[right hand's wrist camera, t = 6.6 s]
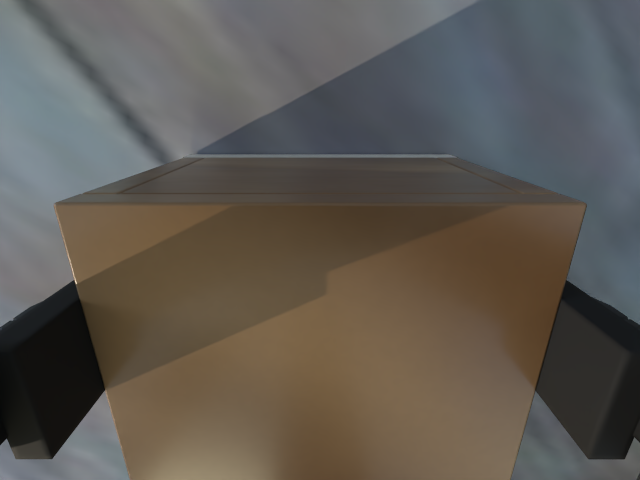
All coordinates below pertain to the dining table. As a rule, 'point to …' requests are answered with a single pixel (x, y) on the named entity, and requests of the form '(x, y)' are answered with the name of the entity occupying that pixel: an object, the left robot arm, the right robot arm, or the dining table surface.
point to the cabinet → (320, 313)
